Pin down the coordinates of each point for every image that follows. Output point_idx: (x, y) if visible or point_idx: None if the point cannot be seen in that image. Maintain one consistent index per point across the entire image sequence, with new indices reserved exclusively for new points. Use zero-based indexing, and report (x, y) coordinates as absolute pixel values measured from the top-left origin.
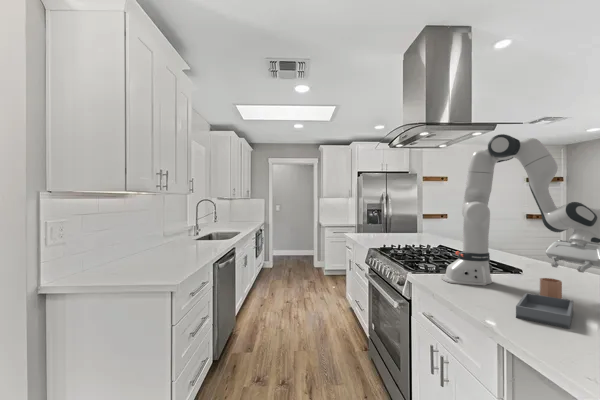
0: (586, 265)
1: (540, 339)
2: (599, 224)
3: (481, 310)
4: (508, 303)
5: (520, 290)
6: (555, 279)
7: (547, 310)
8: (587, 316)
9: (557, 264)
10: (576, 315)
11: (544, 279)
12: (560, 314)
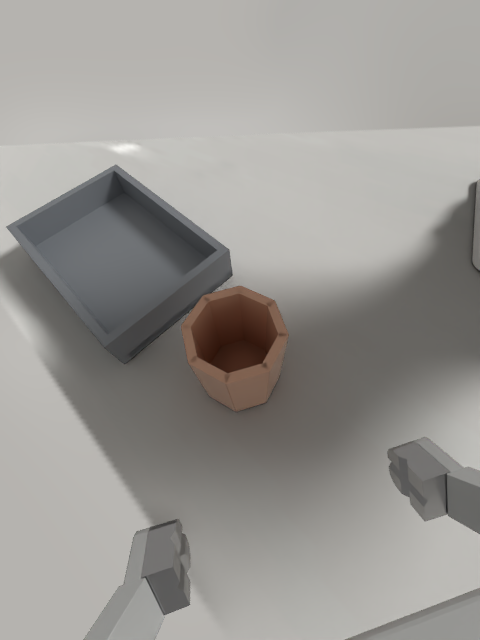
0: (92, 636)
1: (27, 178)
2: None
3: (193, 159)
4: (240, 234)
5: (427, 372)
6: (245, 370)
7: (131, 270)
8: (81, 380)
9: (415, 495)
10: (100, 351)
11: (274, 328)
12: (26, 216)
